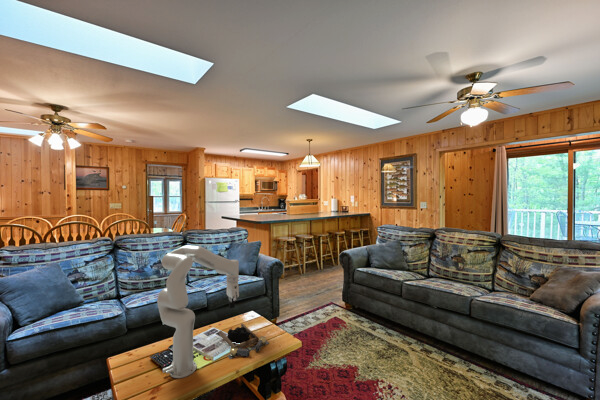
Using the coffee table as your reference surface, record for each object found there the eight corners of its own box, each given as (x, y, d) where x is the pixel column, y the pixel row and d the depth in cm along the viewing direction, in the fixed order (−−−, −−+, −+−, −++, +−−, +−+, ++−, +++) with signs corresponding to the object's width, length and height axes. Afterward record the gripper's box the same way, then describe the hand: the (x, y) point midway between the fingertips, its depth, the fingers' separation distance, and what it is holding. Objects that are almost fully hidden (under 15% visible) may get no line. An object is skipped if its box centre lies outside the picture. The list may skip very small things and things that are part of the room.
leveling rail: (229, 359, 144) (229, 358, 144) (227, 356, 147) (227, 354, 147) (269, 343, 159) (269, 342, 159) (266, 340, 162) (266, 339, 162)
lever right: (259, 340, 161) (259, 335, 161) (266, 341, 160) (266, 335, 160) (253, 351, 150) (253, 345, 150) (260, 352, 149) (260, 346, 149)
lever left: (228, 356, 146) (228, 349, 146) (232, 351, 150) (232, 345, 150) (248, 358, 144) (248, 351, 144) (251, 353, 148) (251, 347, 148)
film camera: (254, 338, 165) (254, 324, 165) (247, 347, 156) (247, 332, 156) (233, 334, 169) (233, 321, 169) (225, 343, 160) (225, 328, 160)
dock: (233, 351, 151) (233, 346, 150) (219, 335, 168) (219, 330, 168) (258, 342, 160) (258, 337, 160) (242, 327, 178) (242, 323, 178)
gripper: (242, 280, 167) (242, 310, 166) (233, 275, 179) (232, 302, 178) (231, 282, 162) (230, 312, 162) (222, 277, 174) (221, 305, 174)
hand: (231, 307), depth 170 cm, fingers closed
